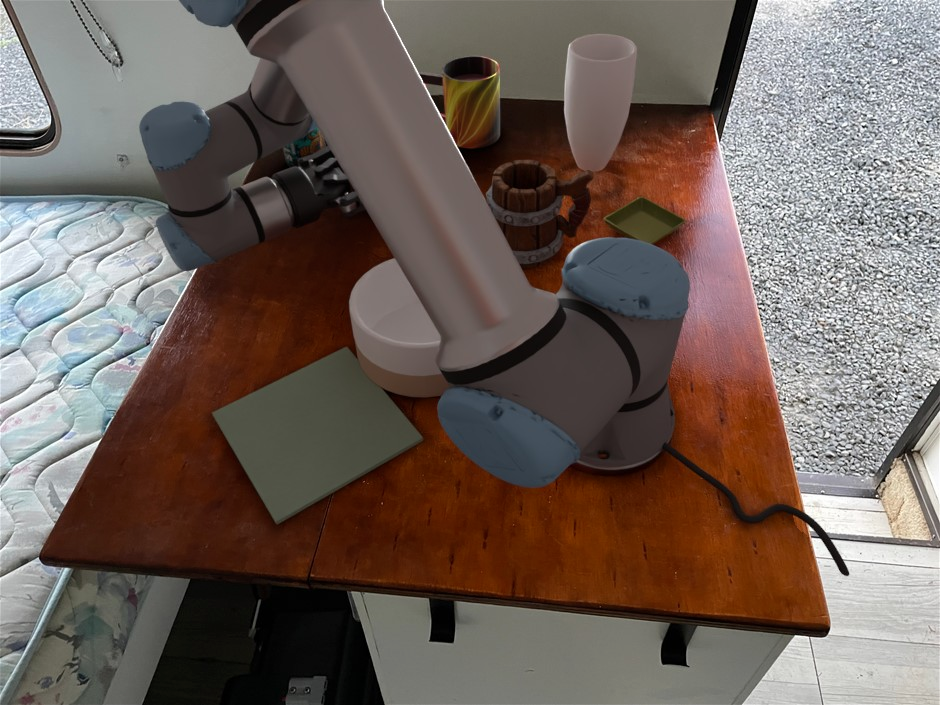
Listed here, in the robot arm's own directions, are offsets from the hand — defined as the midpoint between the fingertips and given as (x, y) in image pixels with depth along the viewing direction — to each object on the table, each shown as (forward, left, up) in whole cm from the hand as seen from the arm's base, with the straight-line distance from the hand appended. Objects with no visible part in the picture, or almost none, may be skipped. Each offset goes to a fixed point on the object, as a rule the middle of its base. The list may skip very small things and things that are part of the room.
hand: (425, 146), depth 102 cm
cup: (-8, -25, -12) cm, 29 cm away
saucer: (-23, -22, -12) cm, 34 cm away
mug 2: (-16, -7, -12) cm, 21 cm away
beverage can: (+26, +9, -12) cm, 30 cm away
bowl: (-24, +17, -12) cm, 31 cm away
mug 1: (+17, -17, -12) cm, 27 cm away
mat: (-27, +34, -12) cm, 45 cm away
